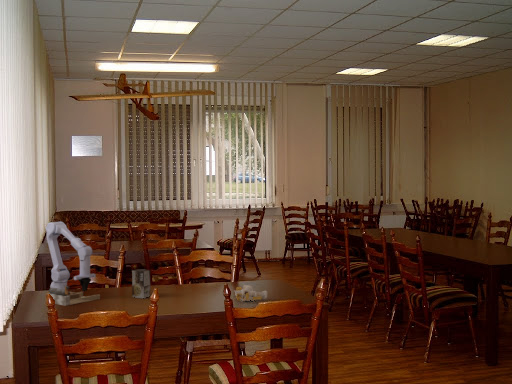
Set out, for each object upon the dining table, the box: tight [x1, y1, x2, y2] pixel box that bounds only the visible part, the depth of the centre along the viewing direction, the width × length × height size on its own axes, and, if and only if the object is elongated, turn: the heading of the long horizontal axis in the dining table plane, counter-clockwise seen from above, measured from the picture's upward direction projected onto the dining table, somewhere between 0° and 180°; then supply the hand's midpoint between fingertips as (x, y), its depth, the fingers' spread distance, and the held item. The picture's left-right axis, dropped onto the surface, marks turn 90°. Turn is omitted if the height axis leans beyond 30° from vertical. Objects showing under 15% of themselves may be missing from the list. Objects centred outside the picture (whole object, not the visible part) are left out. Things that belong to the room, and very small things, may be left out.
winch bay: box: [46, 285, 101, 307], centre depth 388 cm, size 16×25×11 cm, turn 146°
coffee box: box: [131, 268, 151, 299], centre depth 403 cm, size 9×6×16 cm
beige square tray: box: [67, 291, 81, 300], centre depth 385 cm, size 9×9×4 cm
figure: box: [233, 284, 268, 302], centre depth 396 cm, size 17×18×9 cm
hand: (84, 291), depth 394 cm, fingers closed
